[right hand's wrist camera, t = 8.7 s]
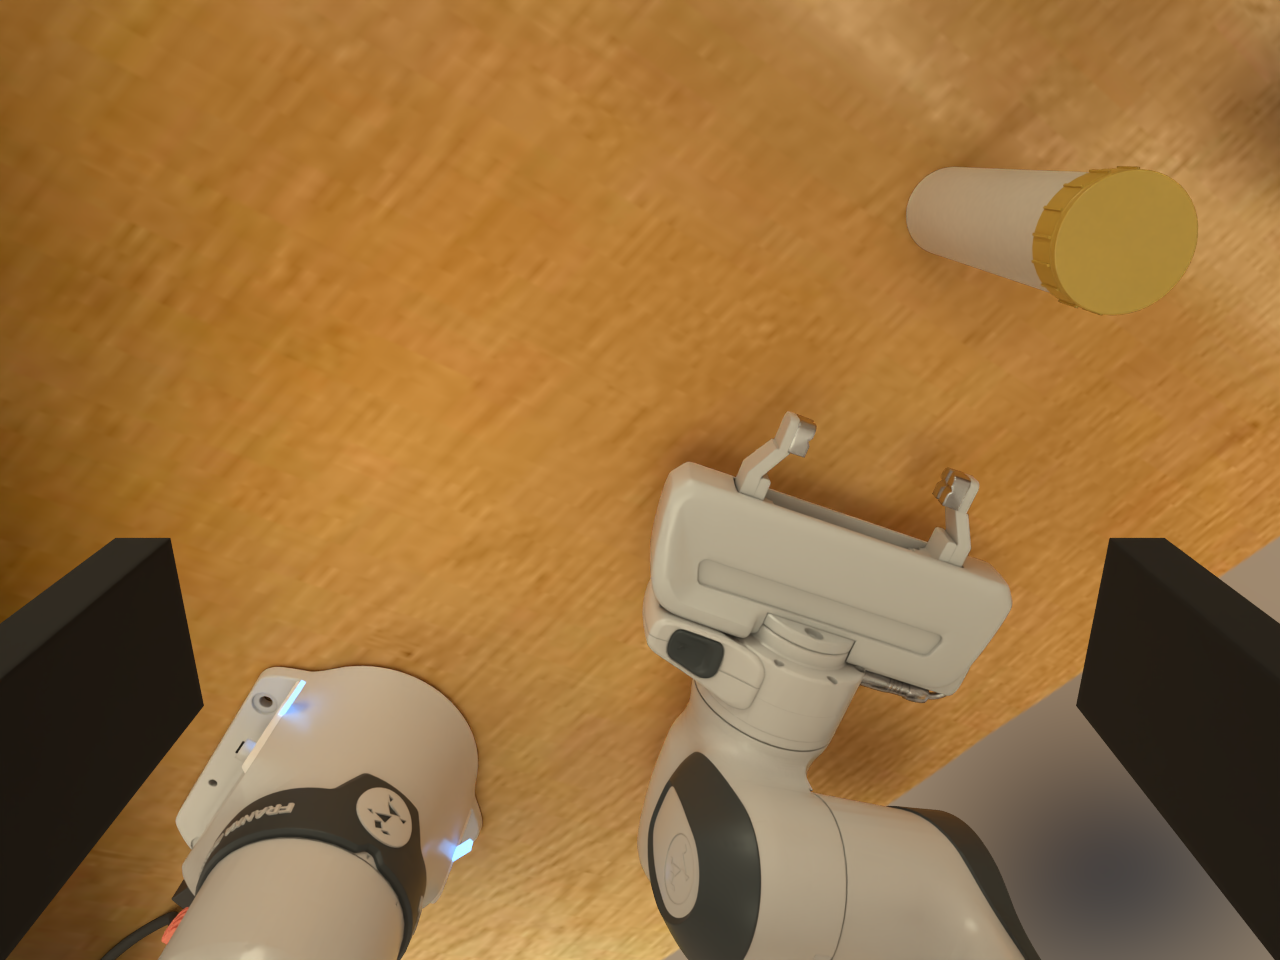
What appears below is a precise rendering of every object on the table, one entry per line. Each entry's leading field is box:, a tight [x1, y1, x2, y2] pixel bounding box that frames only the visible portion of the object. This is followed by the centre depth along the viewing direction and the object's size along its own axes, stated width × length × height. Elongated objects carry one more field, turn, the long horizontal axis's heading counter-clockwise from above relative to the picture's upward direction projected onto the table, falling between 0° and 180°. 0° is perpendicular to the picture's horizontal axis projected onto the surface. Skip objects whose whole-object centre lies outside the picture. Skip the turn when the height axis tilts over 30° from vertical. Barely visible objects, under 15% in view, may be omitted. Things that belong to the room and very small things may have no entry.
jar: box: [906, 167, 1089, 293], centre depth 41 cm, size 5×5×19 cm
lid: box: [1031, 166, 1198, 315], centre depth 32 cm, size 5×5×2 cm
